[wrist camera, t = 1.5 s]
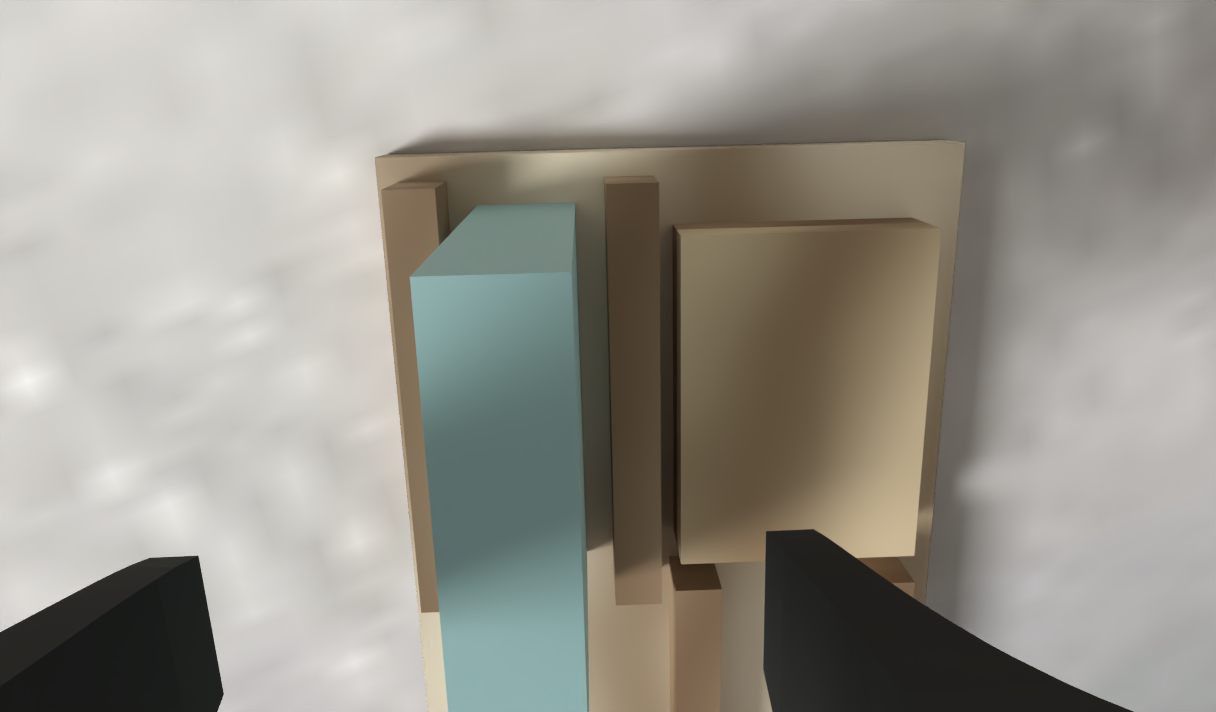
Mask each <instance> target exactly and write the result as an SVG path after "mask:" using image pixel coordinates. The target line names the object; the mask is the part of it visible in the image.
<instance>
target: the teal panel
mask: <svg viewBox="0 0 1216 712" xmlns="http://www.w3.org/2000/svg"><path fill="white" fill-rule="evenodd" d="M410 286H411V297H412V308H413V320H414V331H415V342H416V354H417V365H418V376H419V388H420V399H421V410H422V422H423V433H424V444H425V455H426V467H427V478H428V489H429V501H430V512H431V523H432V535H433V546H434V557H435V568H436V580H437V591H438V602H439V614H440V625H441V636H442V648H443V659H444V670H445V681H446V693H447V704H448V712H589V653H588V580H587V534H586V504H585V475H584V445H583V416H582V386H581V357H580V327H579V298H578V268H577V239H576V209H575V202H573V203H536V204H500V205H477V206H476V207H475V208H474V209H473V211H472V212H471V213H470V214H469V215H468V216H467V217H466V218H465V219H464V220H463V221H462V222H461V223H460V224H459V225H458V226H457V227H456V228H455V230H454V231H453V232H452V233H451V234H450V235H449V236H448V237H447V238H446V239H445V240H444V241H443V242H442V243H441V244H440V245H439V246H438V247H437V249H436V250H435V251H434V252H433V253H432V254H431V255H430V256H429V257H428V258H427V259H426V260H425V261H424V262H423V263H422V264H421V265H420V267H419V268H418V269H417V270H416V271H415V272H414V273H413V274H412V275H411V276H410Z"/></svg>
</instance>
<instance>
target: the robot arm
mask: <svg viewBox="0 0 1216 712" xmlns="http://www.w3.org/2000/svg"><path fill="white" fill-rule="evenodd" d="M763 671H764V675H765V680H766V684H767V689H768V694H769V698H770V703H771V707H772V712H1133V711H1130V710H1128V709H1125V708H1123V707H1121V706H1118V705H1116V704H1113V703H1111V702H1108V701H1106V700H1103V699H1101V698H1098V697H1096V696H1094V695H1091V694H1089V693H1087V692H1085V691H1082V690H1080V689H1078V688H1076V687H1073V686H1071V685H1069V684H1067V683H1064V682H1062V681H1060V680H1058V679H1056V678H1054V677H1052V676H1050V675H1048V674H1046V673H1044V672H1042V671H1040V670H1038V669H1036V668H1034V667H1032V666H1030V665H1028V664H1026V663H1024V662H1022V661H1020V660H1018V659H1016V658H1014V657H1012V656H1010V655H1008V654H1006V653H1004V652H1002V651H1001V650H999V649H997V648H995V647H993V646H991V645H990V644H988V643H986V642H984V641H982V640H981V639H979V638H977V637H976V636H974V635H972V634H971V633H969V632H967V631H966V630H964V629H962V628H961V627H959V626H957V625H956V624H954V623H952V622H951V621H949V620H947V619H946V618H944V617H942V616H941V615H939V614H938V613H936V612H934V611H933V610H931V609H930V608H928V607H927V606H925V605H923V604H922V603H920V602H919V601H917V600H916V599H914V598H913V597H911V596H910V595H908V594H907V593H905V592H904V591H902V590H901V589H899V588H898V587H897V586H895V585H894V584H892V583H891V582H889V581H888V580H886V579H885V578H884V577H882V576H881V575H879V574H878V573H876V572H875V571H874V570H872V569H871V568H869V567H868V566H867V565H865V564H864V563H862V562H861V561H860V560H858V559H857V558H855V557H854V556H853V555H851V554H850V553H848V552H847V551H846V550H844V549H843V548H841V547H840V546H839V545H837V544H836V543H834V542H833V541H832V540H830V539H829V538H827V537H826V536H824V535H823V534H821V533H819V532H818V531H816V530H814V529H804V530H781V531H766V555H765V604H764V653H763ZM223 695H224V693H223V688H222V682H221V677H220V672H219V666H218V661H217V655H216V650H215V644H214V639H213V633H212V628H211V622H210V617H209V612H208V606H207V601H206V595H205V590H204V584H203V579H202V573H201V568H200V562H199V557H198V556H184V557H161V558H149V559H146V560H143V561H141V562H138V563H135V564H133V565H131V566H128V567H126V568H124V569H122V570H120V571H117V572H115V573H113V574H111V575H109V576H107V577H105V578H103V579H101V580H99V581H97V582H95V583H93V584H91V585H89V586H87V587H85V588H83V589H81V590H80V591H78V592H76V593H74V594H72V595H70V596H68V597H66V598H64V599H62V600H61V601H59V602H57V603H55V604H53V605H51V606H49V607H47V608H45V609H44V610H42V611H40V612H38V613H36V614H34V615H32V616H30V617H28V618H26V619H25V620H23V621H21V622H19V623H17V624H15V625H13V626H11V627H9V628H8V629H6V630H4V631H2V632H0V712H217V711H218V708H219V705H220V703H221V700H222V697H223Z"/></svg>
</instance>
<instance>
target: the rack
mask: <svg viewBox="0 0 1216 712" xmlns="http://www.w3.org/2000/svg"><path fill="white" fill-rule="evenodd" d="M965 143H966V142H958V141H950V140H928V141H890V142H851V143H813V144H774V145H736V146H697V147H659V148H620V149H582V150H544V151H505V152H467V153H428V154H390V155H382V156H379V157H376V158H375V165H376V176H377V186H378V197H379V207H380V217H381V228H382V238H383V249H384V259H385V269H386V280H387V290H388V301H389V311H390V321H391V332H392V342H393V353H394V363H395V373H396V384H397V394H398V405H399V415H400V425H401V436H402V446H403V457H404V467H405V478H406V488H407V498H408V509H409V519H410V530H411V540H412V550H413V561H414V571H415V582H416V592H417V602H418V613H419V623H420V634H421V644H422V654H423V665H424V675H425V686H426V696H427V706H428V712H448V704H447V693H446V681H445V670H444V659H443V648H442V636H441V625H440V614H439V602H438V591H437V580H436V568H435V557H434V546H433V535H432V523H431V512H430V501H429V489H428V478H427V467H426V455H425V444H424V433H423V422H422V410H421V399H420V388H419V376H418V365H417V354H416V342H415V331H414V320H413V308H412V297H411V286H410V276H411V275H412V274H413V273H414V272H415V271H416V270H417V269H418V268H419V267H420V265H421V264H422V263H423V262H424V261H425V260H426V259H427V258H428V257H429V256H430V255H431V254H432V253H433V252H434V251H435V250H436V249H437V247H438V246H439V245H440V244H441V243H442V242H443V241H444V240H445V239H446V238H447V237H448V236H449V235H450V234H451V233H452V232H453V231H454V230H455V228H456V227H457V226H458V225H459V224H460V223H461V222H462V221H463V220H464V219H465V218H466V217H467V216H468V215H469V214H470V213H471V212H472V211H473V209H474V208H475V207H476V206H477V205H500V204H536V203H573V202H575V209H576V239H577V268H578V298H579V327H580V357H581V386H582V416H583V445H584V475H585V504H586V534H587V580H588V653H589V712H772V707H771V703H770V698H769V694H768V689H767V684H766V680H765V675H764V671H763V653H764V604H765V561H759V562H731V563H704V564H681V562H680V557H679V553H678V548H677V543H676V539H675V534H674V529H673V224H694V223H730V222H766V221H802V220H837V219H873V218H909V217H912V218H914V219H917V220H920V221H923V222H925V223H928V224H931V225H934V226H936V227H939V228H942V229H941V241H940V253H939V265H938V277H937V289H936V301H935V313H934V325H933V337H932V349H931V361H930V373H929V385H928V398H927V410H926V422H925V434H924V446H923V458H922V470H921V482H920V494H919V506H918V518H917V530H916V542H915V554H914V556H897V557H869V558H857V559H858V560H860V561H861V562H862V563H864V564H865V565H867V566H868V567H869V568H871V569H872V570H874V571H875V572H876V573H878V574H879V575H881V576H882V577H884V578H885V579H886V580H888V581H889V582H891V583H892V584H894V585H895V586H897V587H898V588H899V589H901V590H902V591H904V592H905V593H907V594H908V595H910V596H911V597H913V598H914V599H916V600H917V601H919V602H920V603H922V604H923V605H925V596H926V585H927V574H928V562H929V551H930V540H931V528H932V517H933V506H934V494H935V483H936V472H937V460H938V449H939V438H940V426H941V415H942V403H943V392H944V381H945V369H946V358H947V347H948V335H949V324H950V313H951V301H952V290H953V279H954V267H955V256H956V245H957V233H958V222H959V211H960V199H961V188H962V177H963V165H964V154H965Z"/></svg>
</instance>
